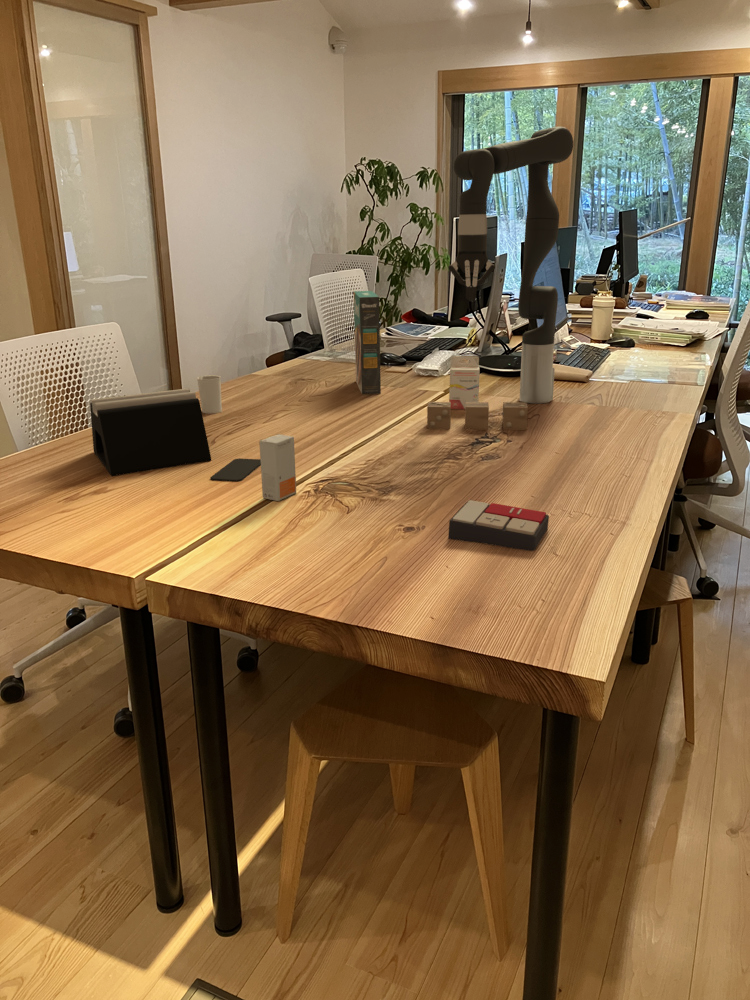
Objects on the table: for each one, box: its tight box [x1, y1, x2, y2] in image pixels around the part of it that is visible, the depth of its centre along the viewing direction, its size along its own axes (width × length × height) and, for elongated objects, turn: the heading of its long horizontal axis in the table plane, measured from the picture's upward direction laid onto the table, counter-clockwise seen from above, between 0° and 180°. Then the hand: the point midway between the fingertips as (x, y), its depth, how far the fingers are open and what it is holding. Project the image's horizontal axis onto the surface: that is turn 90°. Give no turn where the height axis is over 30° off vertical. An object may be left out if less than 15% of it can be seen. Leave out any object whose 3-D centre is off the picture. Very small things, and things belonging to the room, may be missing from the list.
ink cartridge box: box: [448, 355, 481, 410], centre depth 225 cm, size 9×5×15 cm, turn 84°
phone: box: [210, 458, 261, 483], centre depth 174 cm, size 7×1×15 cm
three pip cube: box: [426, 401, 452, 430], centre depth 207 cm, size 6×6×6 cm
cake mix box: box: [353, 290, 382, 395], centre depth 253 cm, size 22×6×30 cm, turn 6°
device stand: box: [89, 388, 212, 477], centre depth 183 cm, size 22×22×15 cm
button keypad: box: [448, 499, 550, 552], centre depth 136 cm, size 11×4×15 cm
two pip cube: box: [502, 401, 529, 431], centre depth 205 cm, size 6×6×6 cm
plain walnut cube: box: [464, 401, 490, 431], centre depth 206 cm, size 6×6×6 cm
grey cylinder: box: [197, 374, 223, 415], centre depth 228 cm, size 7×7×10 cm
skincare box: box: [259, 433, 297, 502], centre depth 155 cm, size 6×4×12 cm
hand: (471, 300), depth 211 cm, fingers closed
